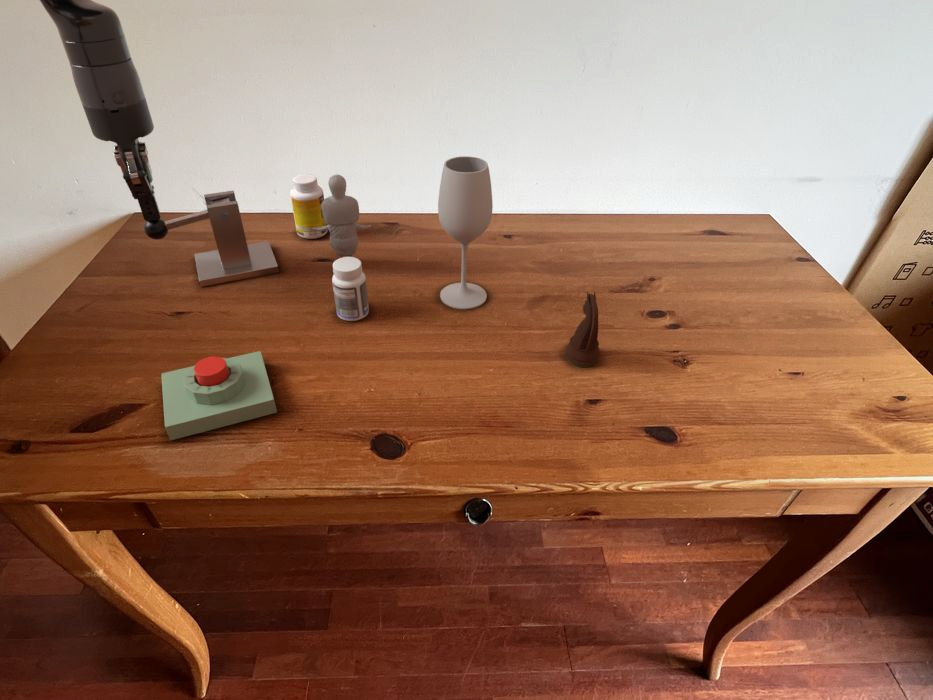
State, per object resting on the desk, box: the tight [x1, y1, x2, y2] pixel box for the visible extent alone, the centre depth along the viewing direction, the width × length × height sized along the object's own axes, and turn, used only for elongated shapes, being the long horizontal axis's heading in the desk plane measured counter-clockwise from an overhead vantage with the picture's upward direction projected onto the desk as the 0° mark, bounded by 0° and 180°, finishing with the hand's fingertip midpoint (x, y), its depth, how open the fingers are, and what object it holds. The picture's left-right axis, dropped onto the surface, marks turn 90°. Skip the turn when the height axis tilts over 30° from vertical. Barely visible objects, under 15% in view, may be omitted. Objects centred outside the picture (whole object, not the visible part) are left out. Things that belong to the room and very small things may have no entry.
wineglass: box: [437, 155, 494, 310], centre depth 87 cm, size 8×8×21 cm
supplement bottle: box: [289, 173, 329, 240], centre depth 106 cm, size 6×6×10 cm
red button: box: [194, 355, 229, 387], centre depth 72 cm, size 4×4×2 cm
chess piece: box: [564, 291, 600, 368], centre depth 79 cm, size 5×5×10 cm
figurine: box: [312, 174, 373, 258], centre depth 97 cm, size 9×4×15 cm, turn 99°
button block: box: [160, 350, 278, 441], centre depth 73 cm, size 12×10×4 cm
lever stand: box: [194, 190, 280, 288], centre depth 96 cm, size 12×9×12 cm
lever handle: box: [143, 198, 230, 240], centre depth 92 cm, size 13×3×3 cm, turn 114°
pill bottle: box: [331, 256, 370, 322], centre depth 87 cm, size 5×5×8 cm
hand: (153, 218), depth 90 cm, fingers closed
